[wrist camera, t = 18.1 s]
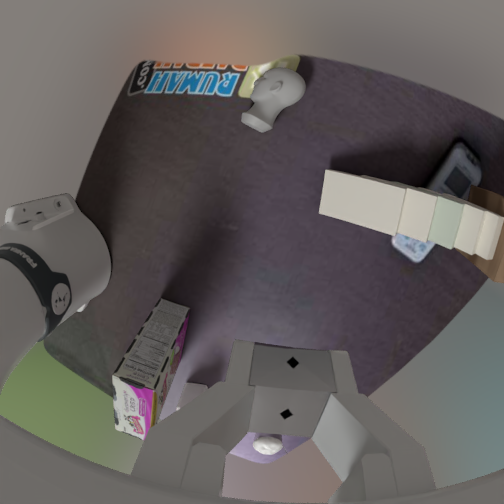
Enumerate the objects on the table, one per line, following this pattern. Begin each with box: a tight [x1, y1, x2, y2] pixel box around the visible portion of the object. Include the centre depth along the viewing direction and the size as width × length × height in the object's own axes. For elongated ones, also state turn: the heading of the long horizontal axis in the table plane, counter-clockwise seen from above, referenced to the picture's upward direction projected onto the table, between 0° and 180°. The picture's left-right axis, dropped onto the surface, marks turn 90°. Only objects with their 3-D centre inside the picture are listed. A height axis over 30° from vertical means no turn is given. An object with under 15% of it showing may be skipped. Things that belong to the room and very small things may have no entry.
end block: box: [455, 185, 504, 283], centre depth 29 cm, size 4×9×10 cm, turn 174°
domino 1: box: [319, 169, 407, 236], centre depth 32 cm, size 2×5×9 cm
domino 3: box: [391, 181, 465, 249], centre depth 31 cm, size 2×5×9 cm
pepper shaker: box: [176, 383, 208, 410], centre depth 44 cm, size 4×4×10 cm
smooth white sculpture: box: [242, 68, 306, 133], centre depth 30 cm, size 4×8×5 cm
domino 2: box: [361, 175, 439, 243], centre depth 31 cm, size 2×5×9 cm
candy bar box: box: [112, 298, 190, 440], centre depth 37 cm, size 11×5×16 cm, turn 165°
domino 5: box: [443, 193, 504, 260], centre depth 30 cm, size 2×5×9 cm, turn 174°
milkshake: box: [253, 433, 287, 455], centre depth 44 cm, size 4×5×10 cm
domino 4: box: [418, 187, 487, 255], centre depth 30 cm, size 2×5×9 cm
